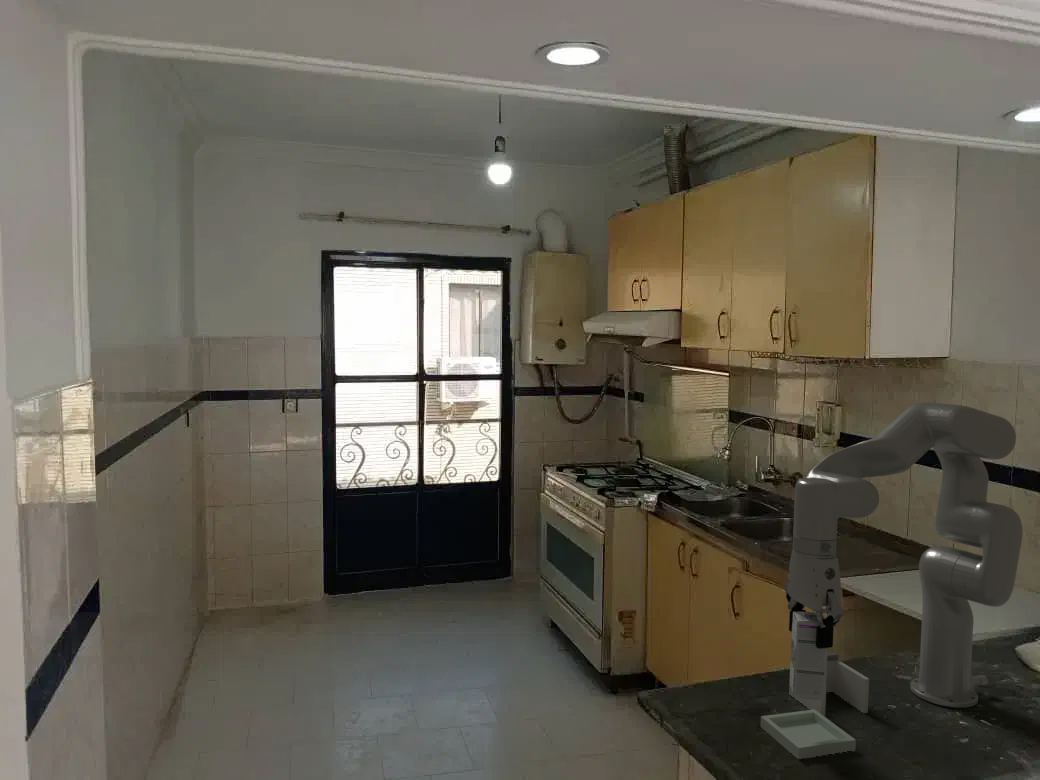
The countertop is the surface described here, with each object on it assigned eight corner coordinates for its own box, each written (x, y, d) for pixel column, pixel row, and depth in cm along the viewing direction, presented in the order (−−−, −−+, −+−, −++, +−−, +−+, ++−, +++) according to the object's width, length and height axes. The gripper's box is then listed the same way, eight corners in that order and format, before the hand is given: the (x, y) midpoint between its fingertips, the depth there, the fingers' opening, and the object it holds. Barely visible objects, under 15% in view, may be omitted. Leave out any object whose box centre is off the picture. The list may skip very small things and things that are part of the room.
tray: (814, 719, 153) (814, 709, 152) (855, 751, 141) (855, 739, 141) (760, 726, 149) (760, 716, 149) (798, 759, 138) (798, 748, 138)
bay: (833, 689, 166) (835, 652, 165) (867, 712, 156) (869, 673, 155) (789, 695, 163) (790, 657, 163) (820, 718, 153) (822, 678, 152)
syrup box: (825, 701, 141) (831, 623, 140) (792, 697, 142) (797, 619, 141) (819, 688, 147) (824, 613, 146) (787, 684, 148) (792, 610, 147)
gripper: (863, 557, 135) (859, 655, 137) (802, 533, 152) (799, 621, 153) (827, 559, 133) (822, 659, 135) (769, 535, 150) (765, 624, 151)
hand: (810, 638), depth 144 cm, fingers closed on syrup box, 7 cm apart
